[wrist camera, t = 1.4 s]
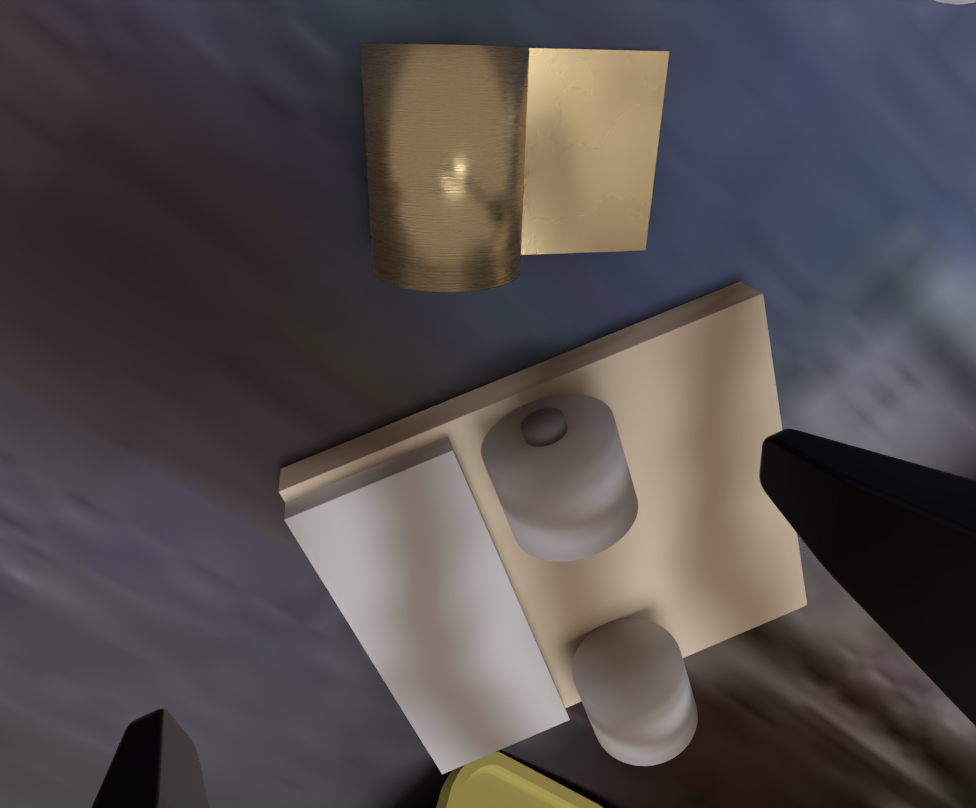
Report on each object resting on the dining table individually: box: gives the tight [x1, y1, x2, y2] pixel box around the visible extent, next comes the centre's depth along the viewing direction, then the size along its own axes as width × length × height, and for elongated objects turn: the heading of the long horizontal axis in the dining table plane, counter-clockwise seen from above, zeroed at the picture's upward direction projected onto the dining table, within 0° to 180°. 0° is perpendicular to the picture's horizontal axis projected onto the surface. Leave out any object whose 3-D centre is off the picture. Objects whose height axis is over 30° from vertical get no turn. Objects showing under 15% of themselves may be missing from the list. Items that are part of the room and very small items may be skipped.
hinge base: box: [279, 281, 807, 774], centre depth 27 cm, size 18×16×6 cm
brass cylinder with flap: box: [360, 43, 669, 292], centre depth 20 cm, size 6×9×4 cm, turn 89°
